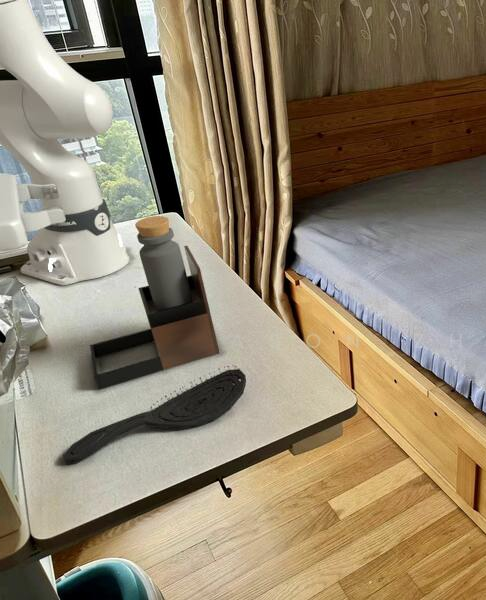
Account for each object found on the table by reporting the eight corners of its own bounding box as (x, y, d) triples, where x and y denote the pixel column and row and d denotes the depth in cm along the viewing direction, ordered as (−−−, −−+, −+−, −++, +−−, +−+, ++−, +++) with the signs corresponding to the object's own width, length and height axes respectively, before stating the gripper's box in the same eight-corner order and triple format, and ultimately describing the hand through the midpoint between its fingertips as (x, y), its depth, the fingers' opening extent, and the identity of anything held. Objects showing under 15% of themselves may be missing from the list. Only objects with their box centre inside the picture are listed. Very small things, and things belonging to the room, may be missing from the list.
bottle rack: (98, 389, 84) (64, 300, 76) (94, 357, 91) (62, 272, 83) (219, 353, 91) (199, 268, 83) (206, 325, 99) (187, 245, 91)
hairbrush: (52, 428, 72) (232, 354, 84) (63, 448, 74) (237, 372, 86) (60, 467, 66) (252, 381, 78) (72, 487, 68) (258, 401, 80)
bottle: (181, 317, 86) (158, 230, 78) (148, 314, 87) (122, 227, 80) (200, 299, 91) (180, 215, 83) (169, 296, 92) (146, 213, 84)
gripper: (-82, 224, 60) (62, 205, 66) (-69, 170, 74) (48, 159, 81) (-60, 275, 63) (75, 252, 70) (-51, 213, 77) (60, 199, 84)
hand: (60, 201), depth 75 cm, fingers open, 8 cm apart
